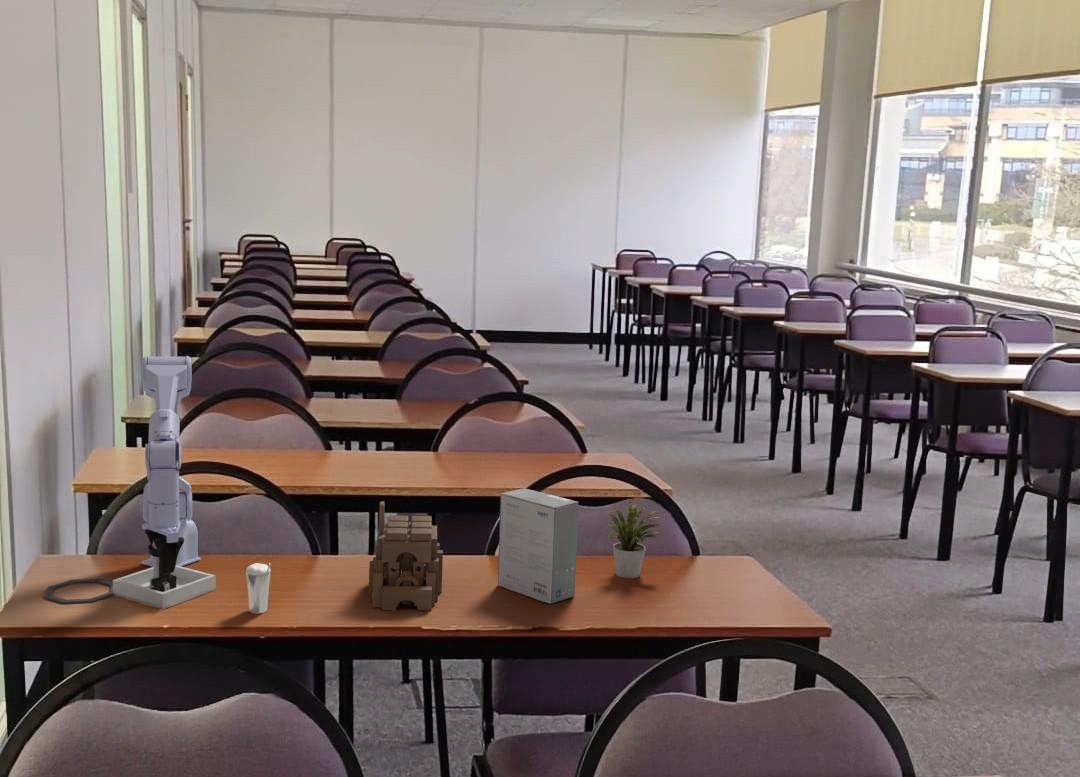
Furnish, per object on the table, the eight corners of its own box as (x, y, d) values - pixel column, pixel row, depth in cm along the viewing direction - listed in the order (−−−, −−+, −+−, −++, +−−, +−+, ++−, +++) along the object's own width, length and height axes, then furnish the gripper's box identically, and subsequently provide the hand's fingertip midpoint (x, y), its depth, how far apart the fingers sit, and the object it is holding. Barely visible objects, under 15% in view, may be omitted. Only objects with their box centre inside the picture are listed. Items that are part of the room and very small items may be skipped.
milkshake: (261, 617, 214) (261, 566, 212) (240, 611, 217) (240, 560, 215) (278, 611, 218) (278, 560, 216) (258, 604, 220) (258, 555, 219)
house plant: (623, 591, 237) (627, 514, 234) (579, 572, 248) (583, 499, 245) (671, 579, 246) (676, 505, 243) (627, 562, 257) (631, 491, 254)
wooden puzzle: (442, 611, 221) (444, 518, 218) (366, 610, 220) (367, 517, 217) (441, 574, 243) (443, 489, 240) (371, 574, 242) (373, 488, 239)
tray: (166, 576, 234) (166, 562, 234) (215, 589, 228) (215, 575, 227) (112, 595, 222) (112, 580, 222) (162, 609, 216) (162, 594, 215)
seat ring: (86, 576, 232) (86, 574, 232) (131, 589, 226) (131, 587, 226) (30, 594, 221) (30, 592, 221) (76, 608, 215) (76, 606, 215)
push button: (153, 598, 220) (153, 548, 218) (136, 591, 223) (136, 542, 221) (182, 589, 225) (182, 541, 224) (165, 583, 228) (165, 535, 227)
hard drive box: (576, 597, 232) (580, 502, 229) (550, 605, 227) (555, 508, 224) (521, 578, 243) (524, 486, 240) (495, 585, 237) (499, 492, 234)
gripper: (134, 494, 226) (135, 560, 228) (150, 512, 214) (151, 582, 216) (171, 490, 230) (171, 556, 232) (189, 508, 217) (189, 577, 220)
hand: (164, 568), depth 224 cm, fingers closed on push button, 5 cm apart
